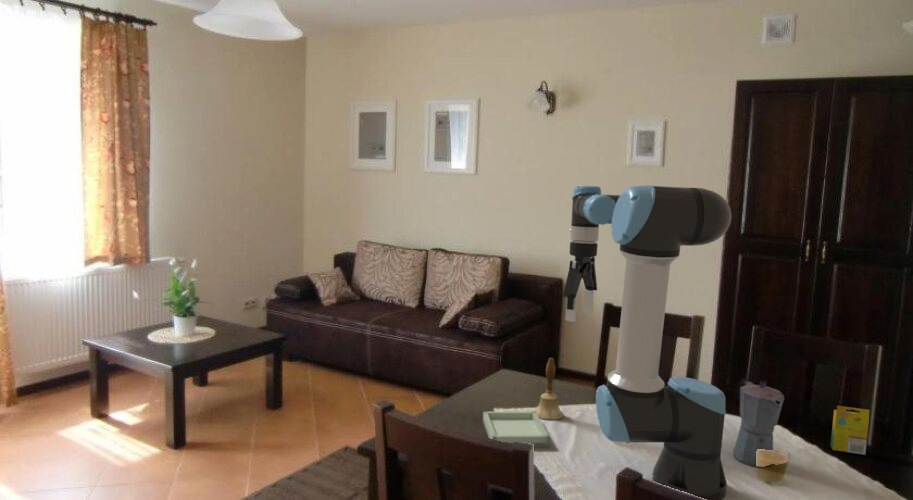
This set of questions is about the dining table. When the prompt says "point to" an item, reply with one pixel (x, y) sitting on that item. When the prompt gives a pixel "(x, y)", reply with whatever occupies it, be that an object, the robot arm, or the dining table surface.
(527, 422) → the tray
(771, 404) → the moka pot
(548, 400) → the hand bell
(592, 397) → the dining table surface
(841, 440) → the crayon box
